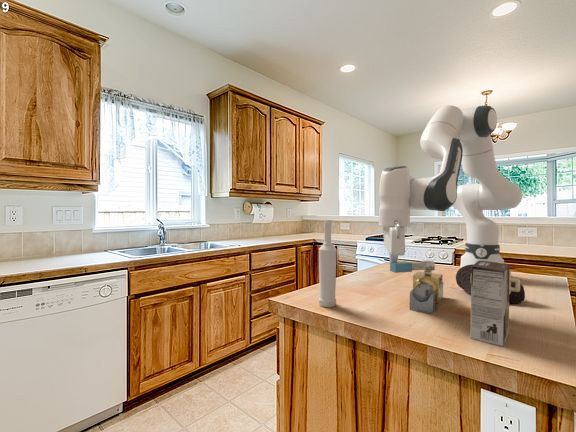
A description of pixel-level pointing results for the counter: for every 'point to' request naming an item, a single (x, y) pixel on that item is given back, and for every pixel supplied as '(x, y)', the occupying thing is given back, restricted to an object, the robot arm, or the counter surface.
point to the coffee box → (490, 302)
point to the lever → (411, 266)
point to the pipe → (465, 283)
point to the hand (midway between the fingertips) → (393, 266)
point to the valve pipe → (426, 291)
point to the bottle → (327, 269)
